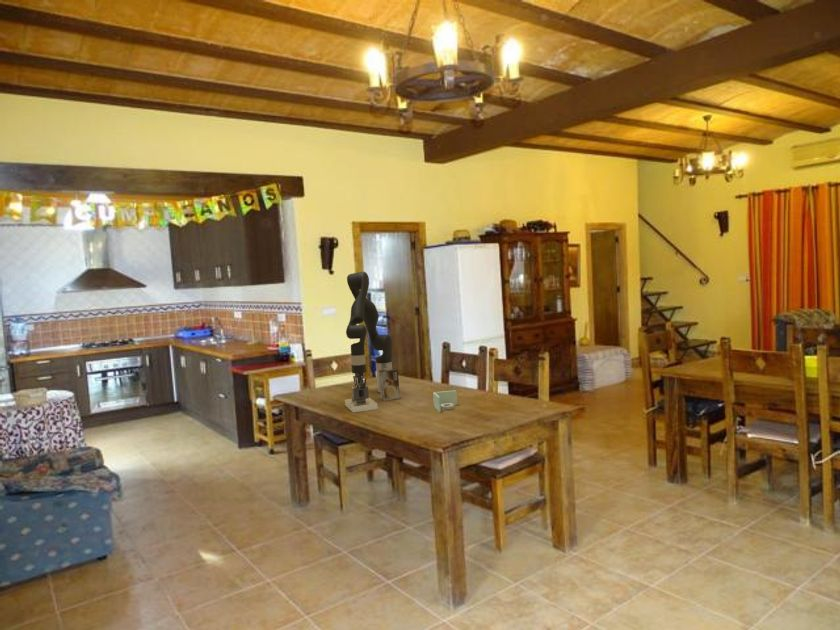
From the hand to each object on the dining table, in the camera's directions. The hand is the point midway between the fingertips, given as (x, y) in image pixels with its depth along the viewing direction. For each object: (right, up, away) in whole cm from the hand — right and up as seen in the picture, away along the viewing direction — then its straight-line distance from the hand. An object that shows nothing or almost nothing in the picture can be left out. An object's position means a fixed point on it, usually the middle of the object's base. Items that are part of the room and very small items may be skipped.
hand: (360, 396), depth 312 cm
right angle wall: (+45, -5, -11) cm, 47 cm away
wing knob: (0, -3, 0) cm, 3 cm away
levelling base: (0, -6, +1) cm, 6 cm away
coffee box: (+15, -4, +17) cm, 23 cm away
